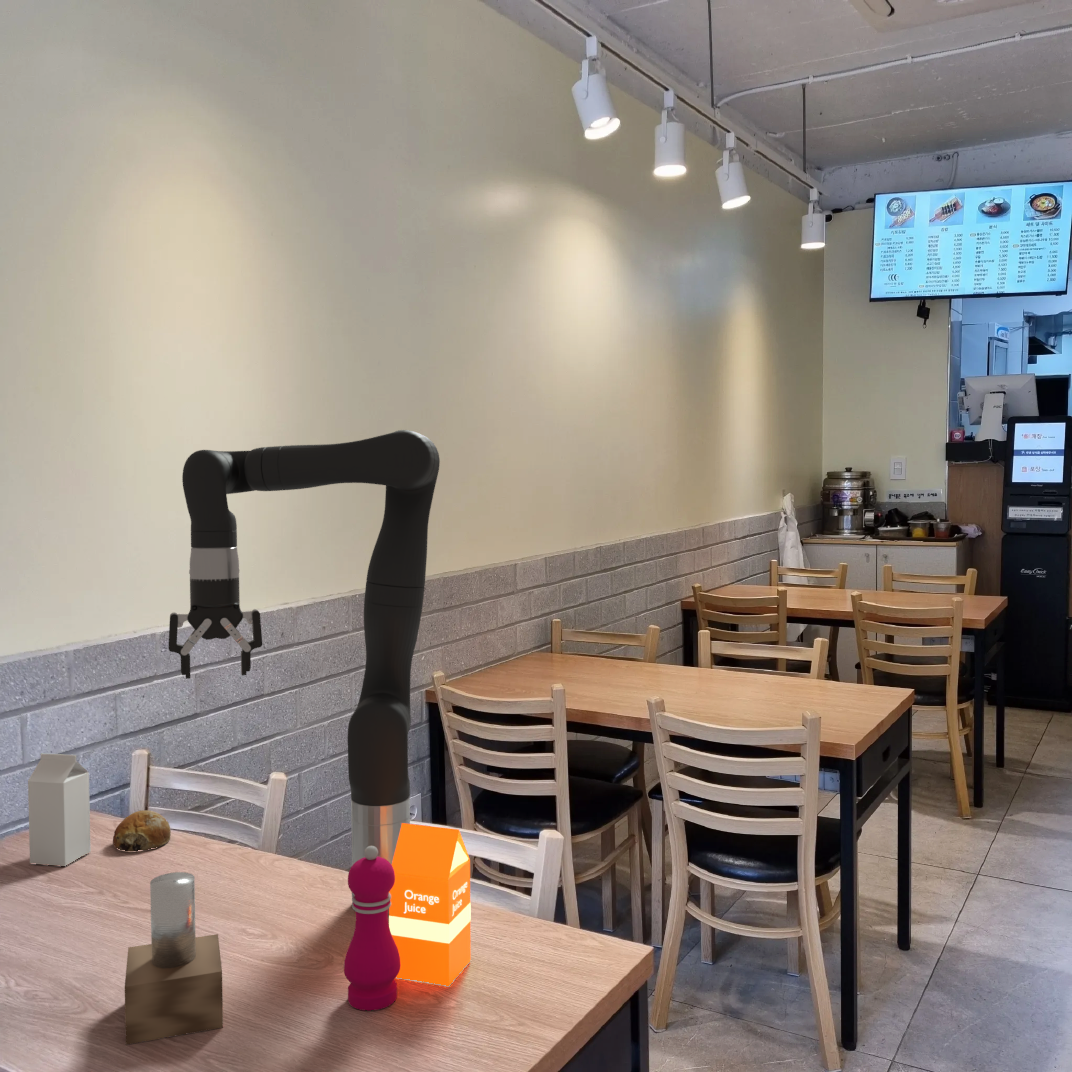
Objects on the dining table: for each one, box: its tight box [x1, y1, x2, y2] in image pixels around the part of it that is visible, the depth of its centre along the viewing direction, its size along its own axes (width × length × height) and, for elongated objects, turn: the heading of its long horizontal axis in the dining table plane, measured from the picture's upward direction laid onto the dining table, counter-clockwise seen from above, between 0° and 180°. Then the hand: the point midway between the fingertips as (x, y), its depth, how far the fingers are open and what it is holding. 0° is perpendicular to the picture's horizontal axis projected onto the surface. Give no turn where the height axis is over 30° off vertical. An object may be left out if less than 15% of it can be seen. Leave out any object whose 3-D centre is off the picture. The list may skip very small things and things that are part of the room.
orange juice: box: [388, 823, 472, 986], centre depth 136 cm, size 8×9×20 cm
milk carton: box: [27, 753, 91, 867], centre depth 178 cm, size 7×7×19 cm
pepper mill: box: [343, 846, 401, 1012], centre depth 128 cm, size 7×7×20 cm
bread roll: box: [112, 810, 172, 851], centre depth 186 cm, size 10×10×8 cm
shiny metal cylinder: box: [149, 871, 197, 968], centre depth 125 cm, size 5×5×10 cm
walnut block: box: [124, 933, 224, 1045], centre depth 125 cm, size 11×11×7 cm
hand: (216, 676), depth 160 cm, fingers open, 8 cm apart
